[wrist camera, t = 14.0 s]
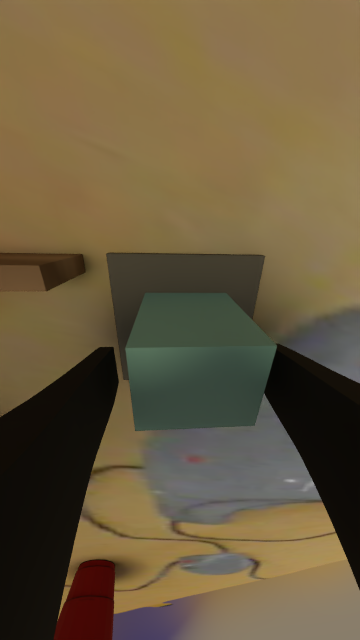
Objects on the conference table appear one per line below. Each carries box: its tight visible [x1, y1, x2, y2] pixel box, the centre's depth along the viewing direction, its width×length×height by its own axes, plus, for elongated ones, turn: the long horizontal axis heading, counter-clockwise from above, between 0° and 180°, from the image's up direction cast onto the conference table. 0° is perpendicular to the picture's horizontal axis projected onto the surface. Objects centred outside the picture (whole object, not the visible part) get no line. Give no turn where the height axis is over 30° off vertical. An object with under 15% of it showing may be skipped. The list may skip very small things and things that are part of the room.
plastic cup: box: [53, 560, 115, 640], centre depth 25 cm, size 11×11×12 cm
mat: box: [106, 253, 265, 380], centre depth 13 cm, size 9×9×1 cm
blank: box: [125, 293, 277, 431], centre depth 10 cm, size 4×5×6 cm
